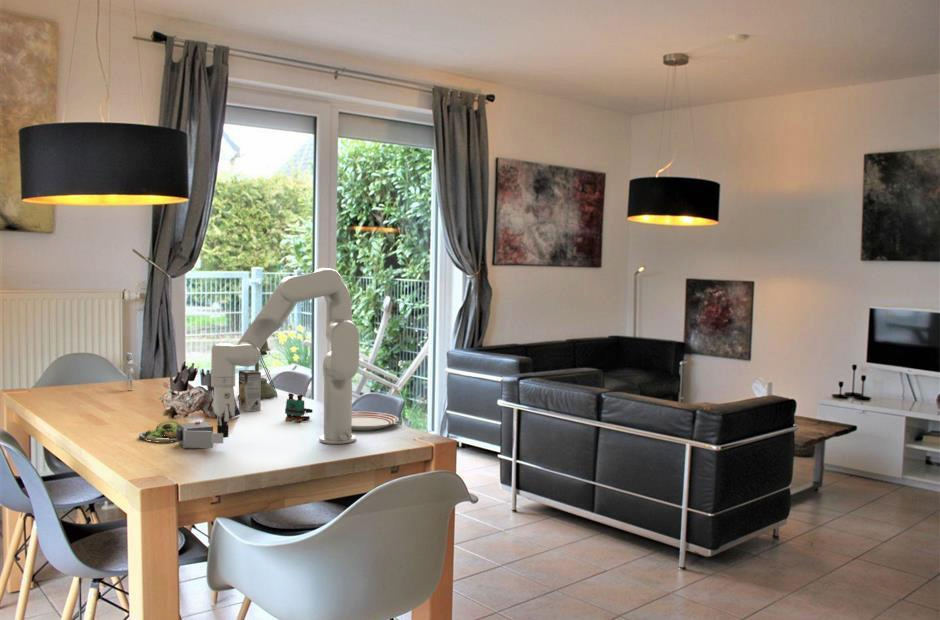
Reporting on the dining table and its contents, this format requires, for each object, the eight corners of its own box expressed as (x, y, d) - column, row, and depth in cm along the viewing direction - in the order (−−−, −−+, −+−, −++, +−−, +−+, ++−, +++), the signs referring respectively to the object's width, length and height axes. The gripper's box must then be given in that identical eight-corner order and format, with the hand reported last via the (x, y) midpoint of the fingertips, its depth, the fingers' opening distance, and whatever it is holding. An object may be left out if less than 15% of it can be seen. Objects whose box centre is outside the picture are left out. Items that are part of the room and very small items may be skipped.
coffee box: (238, 408, 322) (238, 370, 321) (252, 406, 326) (252, 369, 325) (246, 411, 315) (246, 372, 314) (261, 410, 319) (261, 371, 318)
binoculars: (316, 394, 303) (300, 395, 294) (315, 421, 303) (298, 422, 294) (299, 392, 307) (282, 393, 298) (297, 418, 307) (280, 420, 298)
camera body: (213, 445, 255) (212, 424, 255) (180, 449, 250) (180, 427, 249) (206, 440, 263) (206, 419, 262) (175, 443, 257) (175, 422, 257)
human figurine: (117, 392, 357) (117, 353, 356) (114, 391, 360) (114, 353, 359) (143, 389, 365) (143, 352, 364) (140, 388, 368) (140, 351, 367)
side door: (222, 449, 248) (222, 431, 248) (183, 447, 249) (182, 429, 249) (223, 448, 249) (223, 430, 249) (184, 447, 250) (184, 429, 250)
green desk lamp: (238, 393, 359) (238, 330, 357) (277, 392, 364) (277, 329, 362) (237, 401, 339) (237, 333, 338) (277, 400, 344) (278, 333, 342)
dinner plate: (400, 419, 306) (400, 410, 306) (396, 434, 279) (396, 424, 279) (331, 418, 305) (331, 410, 305) (320, 433, 278) (320, 424, 278)
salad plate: (211, 438, 268) (211, 425, 268) (166, 447, 253) (165, 433, 253) (177, 430, 279) (177, 418, 279) (132, 439, 264) (132, 425, 264)
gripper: (240, 384, 246) (240, 440, 246) (229, 377, 258) (228, 431, 259) (216, 385, 242) (216, 442, 243) (206, 379, 254) (205, 433, 255)
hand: (222, 437), depth 251 cm, fingers closed
